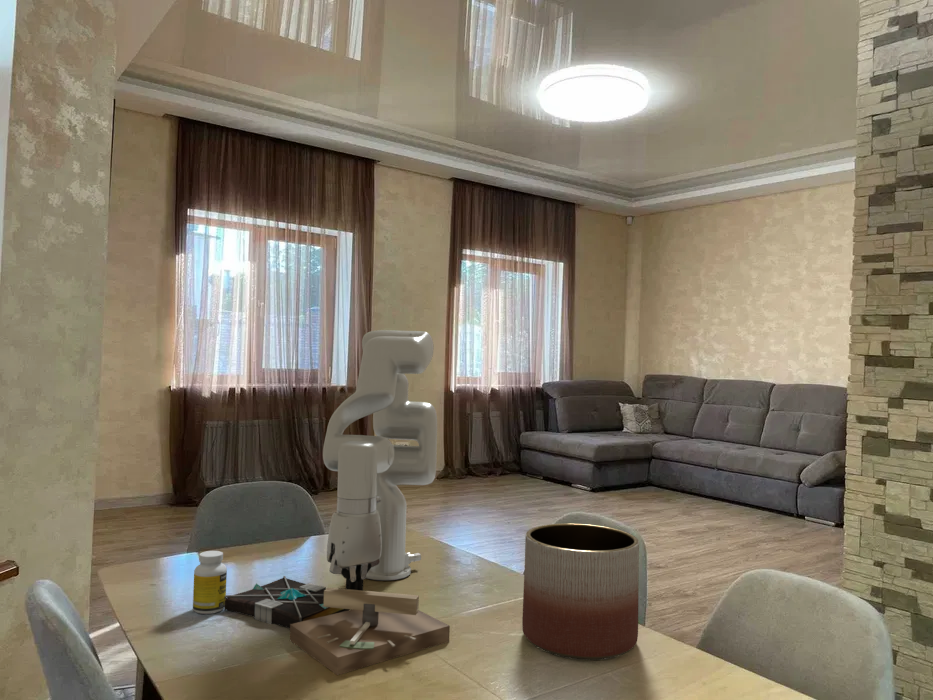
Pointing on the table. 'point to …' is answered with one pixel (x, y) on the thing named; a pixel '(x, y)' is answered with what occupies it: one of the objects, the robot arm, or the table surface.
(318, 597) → the book
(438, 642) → the dial board
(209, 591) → the pill bottle
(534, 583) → the planter
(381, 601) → the wooden lever
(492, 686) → the table surface
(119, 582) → the table surface
